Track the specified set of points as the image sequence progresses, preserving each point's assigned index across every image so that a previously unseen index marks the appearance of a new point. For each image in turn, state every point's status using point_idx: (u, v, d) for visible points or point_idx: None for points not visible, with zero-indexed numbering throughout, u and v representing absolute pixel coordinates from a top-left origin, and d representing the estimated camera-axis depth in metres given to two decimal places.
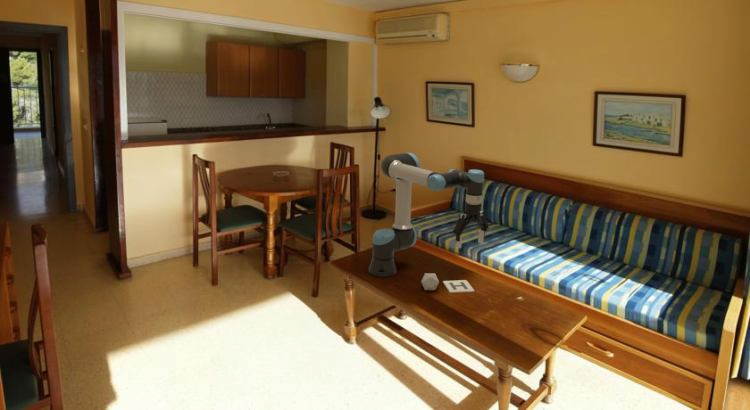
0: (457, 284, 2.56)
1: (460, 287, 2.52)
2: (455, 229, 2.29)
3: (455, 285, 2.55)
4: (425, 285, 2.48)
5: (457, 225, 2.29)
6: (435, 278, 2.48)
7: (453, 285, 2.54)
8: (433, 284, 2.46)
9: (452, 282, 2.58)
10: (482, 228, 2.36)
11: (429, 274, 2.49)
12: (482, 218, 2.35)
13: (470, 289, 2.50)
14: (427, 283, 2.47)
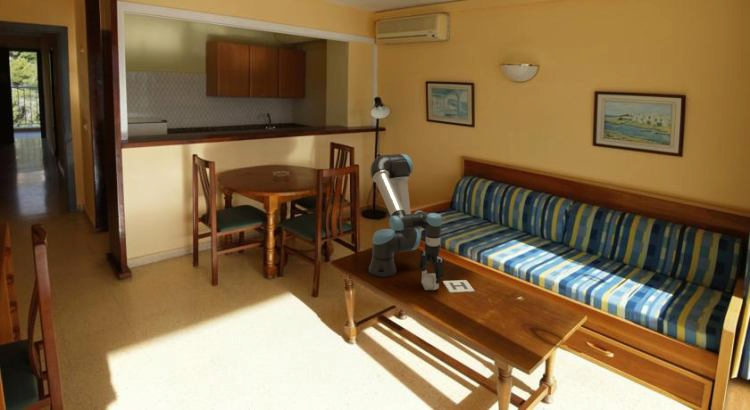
0: (457, 284, 2.56)
1: (460, 287, 2.52)
2: None
3: (455, 285, 2.55)
4: (425, 285, 2.47)
5: None
6: None
7: (453, 285, 2.54)
8: (433, 284, 2.46)
9: (452, 282, 2.58)
10: None
11: (429, 274, 2.49)
12: None
13: (470, 289, 2.50)
14: (427, 283, 2.47)
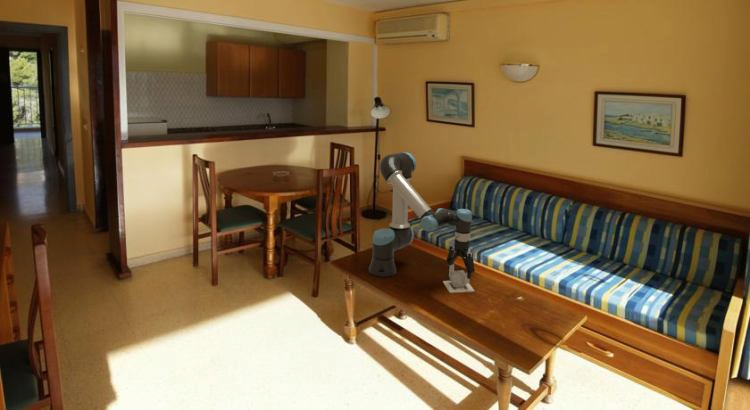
0: None
1: (460, 287, 2.52)
2: None
3: None
4: (454, 282, 2.50)
5: None
6: (464, 275, 2.51)
7: None
8: (462, 281, 2.49)
9: None
10: None
11: (458, 271, 2.52)
12: None
13: (470, 289, 2.50)
14: (457, 280, 2.49)
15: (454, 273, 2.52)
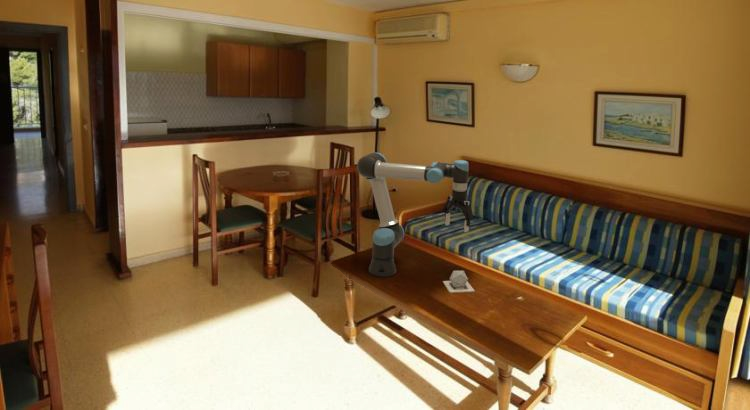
0: None
1: (460, 287, 2.52)
2: None
3: None
4: (454, 282, 2.50)
5: None
6: (464, 275, 2.51)
7: None
8: (462, 281, 2.49)
9: None
10: (465, 217, 2.55)
11: (458, 271, 2.52)
12: None
13: (470, 289, 2.50)
14: (457, 280, 2.49)
15: (454, 273, 2.52)
